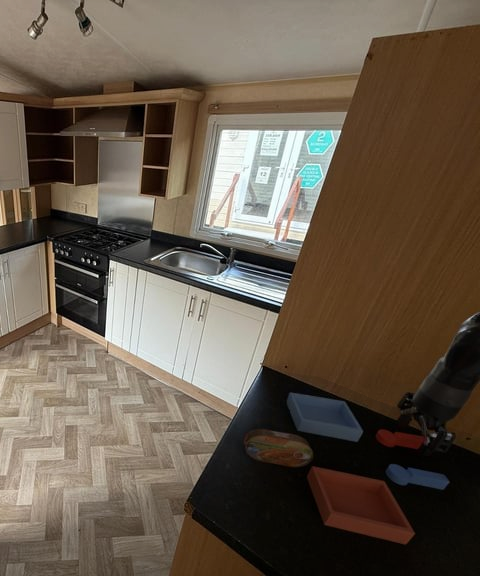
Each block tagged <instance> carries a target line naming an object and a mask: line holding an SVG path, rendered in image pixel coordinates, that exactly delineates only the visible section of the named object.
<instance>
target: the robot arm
mask: <svg viewBox="0 0 480 576" xmlns="http://www.w3.org/2000/svg"><path fill="white" fill-rule="evenodd" d="M479 383H480V311H478V312H477V313H475V314H473V315H472V316H470V317H469V318H467V319H466V320H464V321H463V322H462V323H461V324H460V325H459V326H458V328H457V330H456V333H455V335H454V337H453V339H452V341H451V343H450V345H449V347H448V348H447V350H446V352H445V354H443V355H442V356H441V357H439V359H438V360H437V362H436V363H435V365H434V366H433V368H432V370H431V371H430V373H429V374H427V376H426V377H425V378H424V380H423V381H422V383H421V384H420V386H419V387H418V389H417V390H416V392H411V391H405V393H404V394H403V396H402V397H401V399H400V400H399V401H398V403H397V404H396V408H397V409H399V410H400V411H399V414H400V415H399V416H398V418H397V419H396V423H395V426H396V427H397V428H401V429H407V428H408V427H409V425H410V423H412V420H414V421H415V422H416V423H417V424H418V426H419V428H420V434H421V435H422V436H423V440H424V443H423V442H422V444H421V445H420V447H419V448H418V449H416V454H417V455H418V456H422V457H431V455H433V453H434V452H439V453H443V454H446V453H447V452H448V451H449V449H450V447H451V445H453V442H454V441H455V439H456V438H457V434H456V433H455V432H452V431H449V430H448V429H447V428H446V426H447V422H449V421H452V420H453V419H455V418H456V416H457V415H458V414H459V412H460V411H461V410H462V409H463V407H464V406H465V404H466V403H467V402H468V401H469V399H470V398H471V396H472V393H473V391H474V389H475V388H476V387H477V385H478V384H479ZM429 431H434V432H433V433H432V432H429ZM430 438H432V441H431V439H430Z"/></svg>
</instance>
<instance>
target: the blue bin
mask: <svg viewBox="0 0 480 576" xmlns="http://www.w3.org/2000/svg"><path fill="white" fill-rule="evenodd" d="M286 402H287V403H286V406H287V408H288V410H290V411H289V413H290V416H291V418H292V421H293V424H294V426H295V428H296V431H298V432H302V433H308V434H313V435H319V436H323V437H328V438H329V437H330V438H334V439H339V440H346V441H350V442H356V443H358V442H359V440H360V439H361V436H362V435H363V433H364V430H363V428H362V427H361V425H360V424H359V422H358V420H357V418H356V417H355V415H354V414H353V412H352V410H351V409H350V407H349V405H348V404H347V402H346V401H344V400H339V399H332V398H327V397H320V396H314V395H309V394H303V393H297V392H296V393H295V392H289V393H288V396H287V398H286Z"/></svg>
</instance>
